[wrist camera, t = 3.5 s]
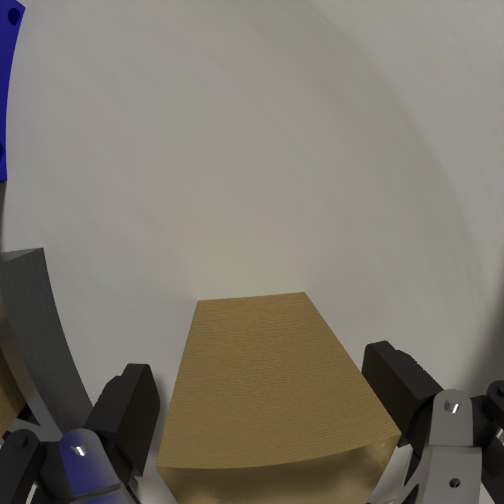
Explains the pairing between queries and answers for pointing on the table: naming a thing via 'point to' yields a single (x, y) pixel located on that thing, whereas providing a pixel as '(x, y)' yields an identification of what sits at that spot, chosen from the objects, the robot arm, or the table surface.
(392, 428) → the wooden toy block
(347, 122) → the table surface
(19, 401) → the beige cube
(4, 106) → the cable clip
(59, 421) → the grey flat open box
